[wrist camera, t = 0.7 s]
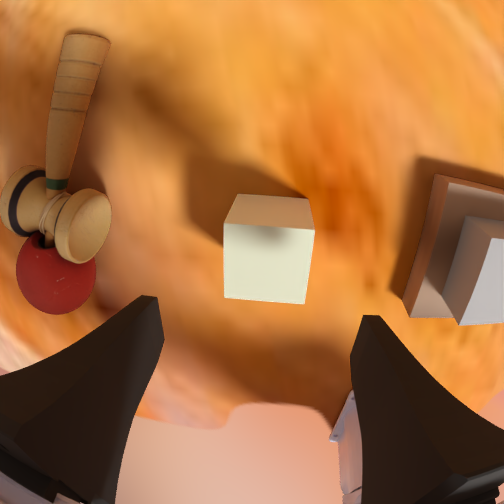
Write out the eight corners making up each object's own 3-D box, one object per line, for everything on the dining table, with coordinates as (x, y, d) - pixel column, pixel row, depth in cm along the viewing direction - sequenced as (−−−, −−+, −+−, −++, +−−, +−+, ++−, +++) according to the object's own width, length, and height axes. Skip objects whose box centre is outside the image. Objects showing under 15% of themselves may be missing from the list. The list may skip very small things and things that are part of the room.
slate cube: (499, 295, 17) (518, 321, 14) (441, 295, 17) (458, 325, 15) (524, 224, 14) (550, 245, 12) (465, 215, 15) (491, 238, 12)
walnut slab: (490, 298, 20) (503, 316, 18) (399, 295, 20) (409, 317, 18) (525, 194, 16) (545, 206, 13) (430, 171, 16) (448, 182, 14)
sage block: (301, 260, 19) (304, 304, 15) (236, 255, 20) (224, 297, 16) (308, 198, 17) (314, 229, 14) (237, 193, 18) (223, 223, 14)
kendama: (59, 48, 15) (31, 275, 21) (12, 30, 9) (-7, 316, 15) (157, 55, 17) (112, 297, 23) (133, 28, 11) (88, 347, 17)
